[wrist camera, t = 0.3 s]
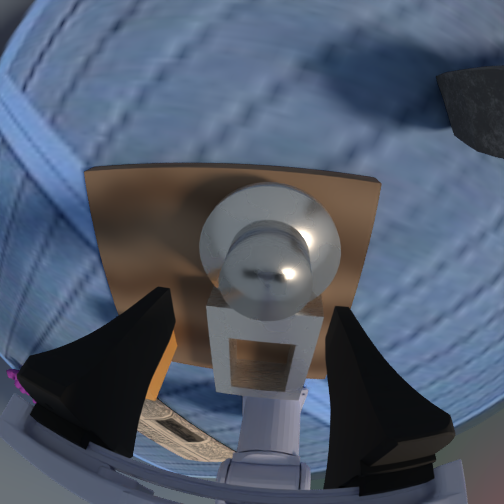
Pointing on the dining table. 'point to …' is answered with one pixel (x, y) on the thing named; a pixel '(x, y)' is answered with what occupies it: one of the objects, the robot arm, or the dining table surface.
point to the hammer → (476, 107)
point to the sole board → (188, 237)
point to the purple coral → (13, 374)
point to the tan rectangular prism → (161, 369)
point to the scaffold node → (267, 284)
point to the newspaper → (179, 434)
